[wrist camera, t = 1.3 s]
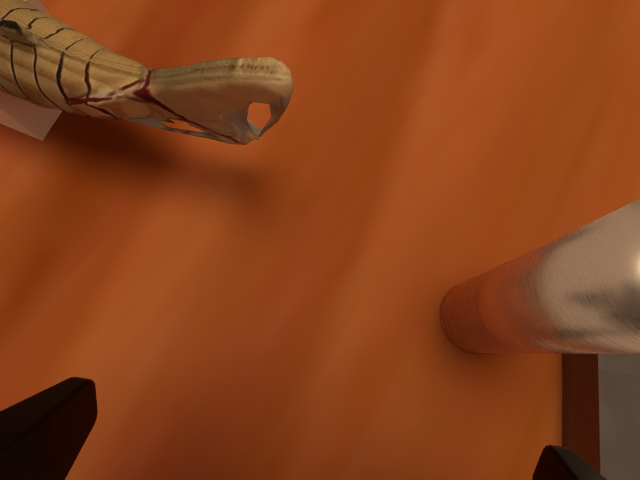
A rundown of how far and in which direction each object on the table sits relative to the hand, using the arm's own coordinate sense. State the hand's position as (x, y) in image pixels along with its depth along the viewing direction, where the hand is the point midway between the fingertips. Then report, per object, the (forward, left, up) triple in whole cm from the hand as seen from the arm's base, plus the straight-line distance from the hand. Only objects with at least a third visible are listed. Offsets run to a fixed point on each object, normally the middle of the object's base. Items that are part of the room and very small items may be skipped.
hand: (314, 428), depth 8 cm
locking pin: (+5, -9, -15) cm, 18 cm away
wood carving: (+15, +19, -15) cm, 29 cm away
